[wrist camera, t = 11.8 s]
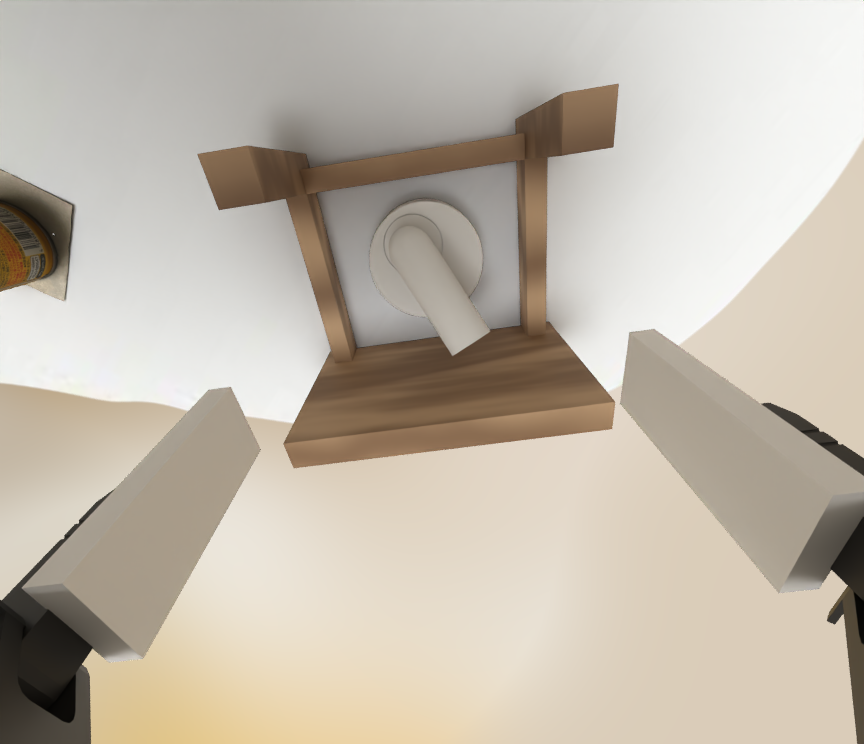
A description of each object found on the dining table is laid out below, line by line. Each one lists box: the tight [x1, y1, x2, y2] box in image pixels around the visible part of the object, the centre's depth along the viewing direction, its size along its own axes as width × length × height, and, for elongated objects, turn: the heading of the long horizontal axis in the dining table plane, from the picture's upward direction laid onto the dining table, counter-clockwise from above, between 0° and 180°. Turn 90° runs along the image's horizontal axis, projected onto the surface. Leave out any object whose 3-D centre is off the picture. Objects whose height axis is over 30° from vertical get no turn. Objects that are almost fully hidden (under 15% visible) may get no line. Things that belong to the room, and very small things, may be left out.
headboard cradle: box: [198, 84, 619, 468], centre depth 25 cm, size 18×20×13 cm
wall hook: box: [369, 198, 490, 356], centre depth 26 cm, size 9×10×10 cm
